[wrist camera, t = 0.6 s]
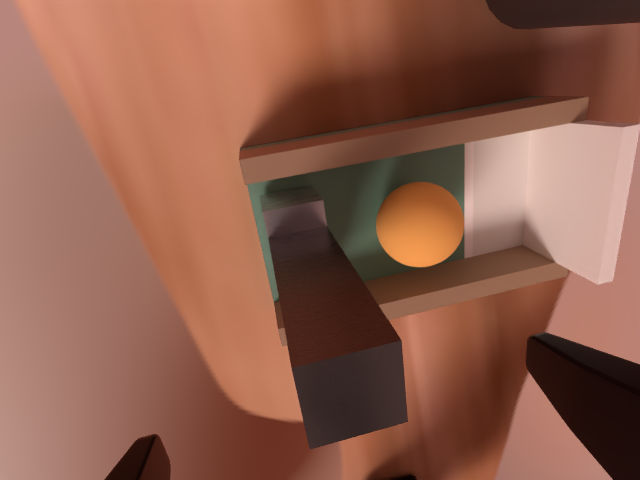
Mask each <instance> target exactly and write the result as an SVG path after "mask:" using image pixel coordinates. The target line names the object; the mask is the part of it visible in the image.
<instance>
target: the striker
mask: <svg viewBox="0 0 640 480" xmlns="http://www.w3.org/2000/svg"><path fill="white" fill-rule="evenodd" d="M260 201H261V207H262V212H263V217H264V222H265V226H266V231H267V235H268V240H269V246H270V251H271V257H272V262H273V268H274V273H275V279H276V284H277V290H278V295H279V301H280V306H281V312H282V317H283V323H284V328H285V334H286V339H287V345H288V350H289V356H290V361H291V367H292V372H293V376H294V381H295V385H296V390H297V394H298V398H299V403H300V407H301V412H302V416H303V421H304V425H305V430H306V434H307V439H308V443H309V448H310V449H313V448H317V447H320V446H324V445H327V444H331V443H334V442H338V441H342V440H345V439H349V438H352V437H356V436H359V435H363V434H366V433H370V432H373V431H377V430H381V429H384V428H388V427H391V426H395V425H398V424H402V423H405V422H408V418H407V405H406V392H405V379H404V367H403V354H402V341H401V339H400V337H399V336H398V334H397V333H396V331H395V330H394V328H393V327H392V325H391V324H390V322H389V320H388V319H387V317H386V316H385V314H384V313H383V311H382V310H381V308H380V307H379V305H378V304H377V302H376V301H375V299H374V297H373V296H372V294H371V293H370V291H369V290H368V288H367V287H366V285H365V284H364V282H363V281H362V279H361V277H360V276H359V274H358V273H357V271H356V270H355V268H354V267H353V265H352V264H351V262H350V261H349V259H348V258H347V256H346V254H345V253H344V251H343V250H342V248H341V247H340V245H339V244H338V242H337V241H336V239H335V238H334V236H333V234H332V233H331V231H330V230H329V228H328V227H327V222H326V216H325V209H324V202H323V199H322V198H321V197H320V195H319V194H318V193H317V191H316V190H315V189H314V188H313V186H307V187H302V188H296V189H291V190H286V191H281V192H276V193H271V194H265V195H260Z"/></svg>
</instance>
